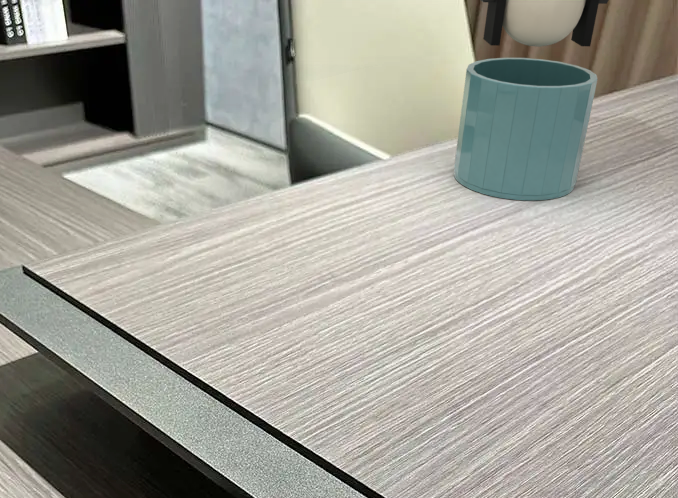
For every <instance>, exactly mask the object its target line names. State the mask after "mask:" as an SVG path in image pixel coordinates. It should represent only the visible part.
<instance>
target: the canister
mask: <svg viewBox="0 0 678 498" xmlns="http://www.w3.org/2000/svg"><path fill="white" fill-rule="evenodd" d="M597 84H598V75H597V74H596V73H595V72H593V71H592V70H590V69H588V68H586V67H582V66H579V65H577V64H572V63H567V62H562V61H557V60H549V59H542V58H529V57H497V58H496V57H495V58H494V57H493V58H487V59H480V60H476V61H473V62H471V63H469V64H468V65H467V68H466V71H465V79H464V86H463V93H462V103H461V110H460V117H459V118H460V119H459V125H458V126H459V127H458V133H457V141H456V142H457V143H456V150H455V158H454V164H453V165H454V166H453V176H454V179H455V180H456V181H457V182H458V183H459V184H460V185H462V186H463V187H465V188H467V189H469V190H471V191H473V192H476V193H480V194H483V195H485V196H486V195H487V196H490V197H494V198H498V199H499V198H500V199H506V200H516V201H546V200H547V201H548V200H553V199H558V198H561V197H565V196H567V195H568V194H570V193H572V192H573V191H574V190H575V188H576V187H575V186H576V184H577V180H578V177H579V176H578V174H579V170H580V166H581V161H582V157H583V152H584V147H585V141H586V136H587V133H588V127H589V122H590V118H591V112H592V108H593V103H594V99H595V93H596V89H597Z"/></svg>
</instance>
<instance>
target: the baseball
mask: <svg viewBox="0 0 678 498" xmlns="http://www.w3.org/2000/svg"><path fill="white" fill-rule="evenodd" d="M585 2H586V0H506V5H505V12H504V19H503V26H502V29H504V31H505V33H506V34H507V35H508V36H509V37H510V38H511V39H513V40H514V41H515V42H517V43H520V44H522V45H524V46H529V47H538V48H539V47H540V48H541V47H546V46H551V45H555V44H557V43H559V42H560V41H562V40H564V39H565V38H566V37H568V36H569V35H570V34H572V32H573V29H574V28H575V26H576V25H577V23H578V21H579V19H580V17H581V15H582V12H583V9H584V6H585Z"/></svg>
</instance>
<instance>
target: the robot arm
mask: <svg viewBox="0 0 678 498" xmlns="http://www.w3.org/2000/svg"><path fill="white" fill-rule="evenodd" d="M480 1H481V2H482V3H487V10H486V17H485V24H484V32H483V38H482V39H483V40H484V41H485V42H486V43H487V44H488V45H489V46H495V47H496V46H498V47H500V45H501V39H502V32H503V19H504V12H505V5H506V0H480ZM608 2H609V0H586V2H585V6H584V9H583V12H582V15H581V17H580V19H579V21H578V23H577V25H576V26H575V28H574V29H573V30H572V32H571V37H570V40H571V42H574V43H575V44H576V45H579V46H580V47H591V43H592V39H593V34H594V30H595V24H596V20H597V15H598V9H599V5H601V4H603V5H604V4H608Z"/></svg>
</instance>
